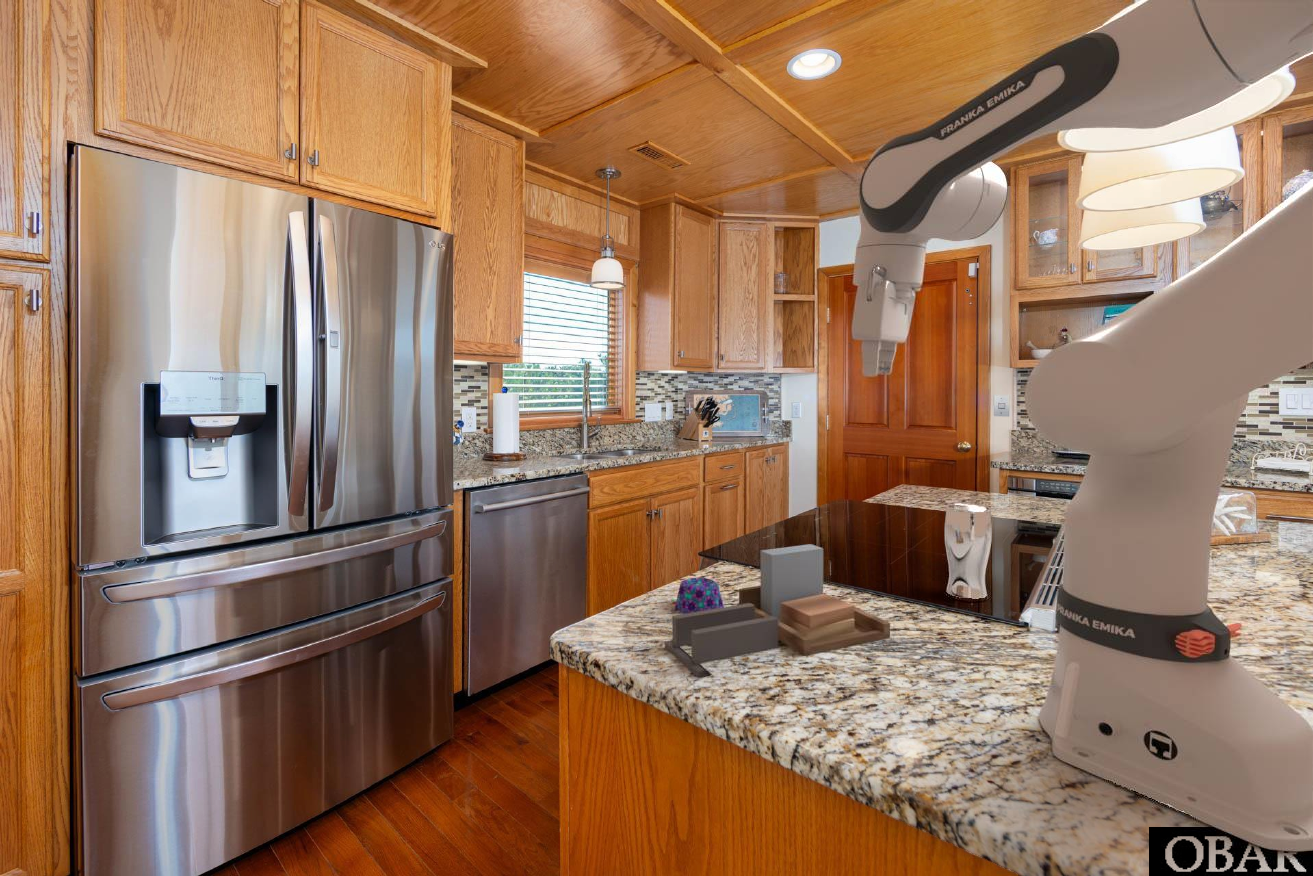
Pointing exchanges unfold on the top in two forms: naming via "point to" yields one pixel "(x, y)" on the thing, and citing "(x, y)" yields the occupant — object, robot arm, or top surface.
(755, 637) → the holder
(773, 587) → the gray rectangular block
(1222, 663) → the robot arm
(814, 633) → the offcut low
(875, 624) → the tray
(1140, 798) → the top surface
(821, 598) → the offcut top
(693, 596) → the purple rounded dome
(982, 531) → the beer glass
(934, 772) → the top surface
